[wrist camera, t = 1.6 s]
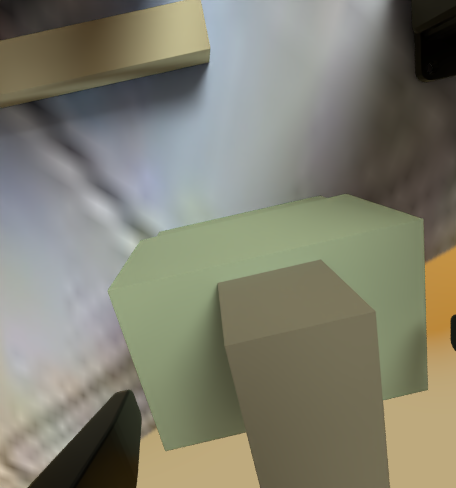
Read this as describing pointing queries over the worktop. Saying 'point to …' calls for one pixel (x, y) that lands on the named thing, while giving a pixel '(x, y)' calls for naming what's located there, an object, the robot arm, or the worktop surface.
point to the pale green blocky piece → (281, 334)
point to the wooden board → (102, 52)
